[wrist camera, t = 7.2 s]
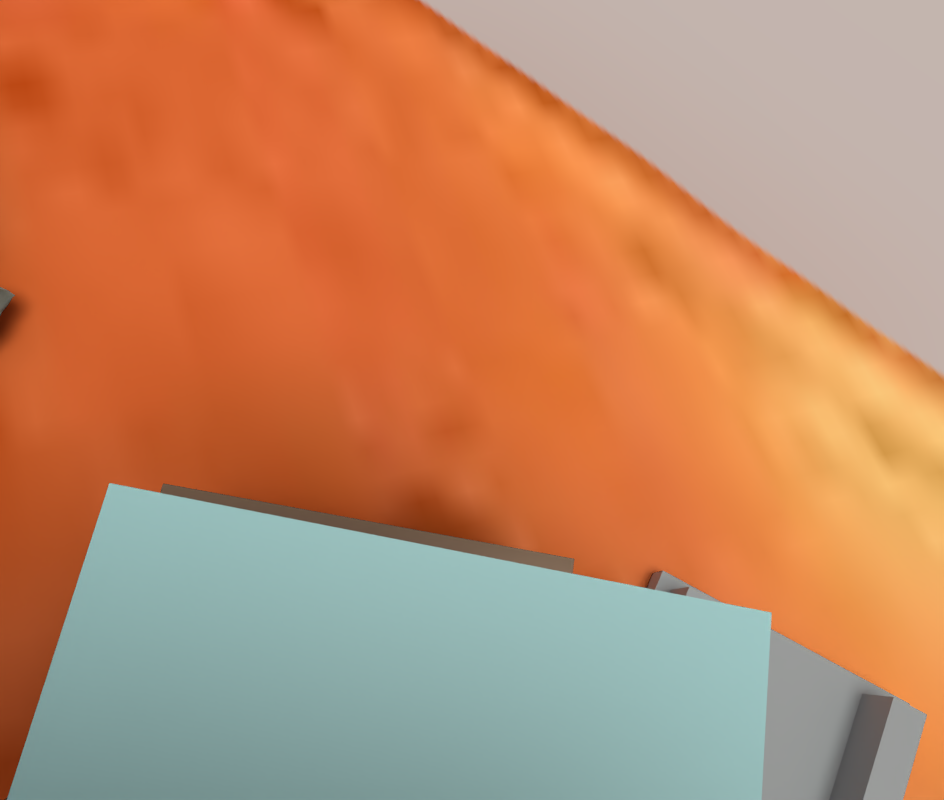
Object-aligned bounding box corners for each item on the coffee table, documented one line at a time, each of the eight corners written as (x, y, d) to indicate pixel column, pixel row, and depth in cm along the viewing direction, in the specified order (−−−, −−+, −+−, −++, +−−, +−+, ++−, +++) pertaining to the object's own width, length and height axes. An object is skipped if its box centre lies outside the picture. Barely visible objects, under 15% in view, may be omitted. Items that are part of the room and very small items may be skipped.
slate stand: (805, 991, 21) (855, 1029, 19) (538, 845, 21) (558, 866, 19) (892, 702, 24) (944, 707, 22) (653, 573, 24) (681, 566, 22)
